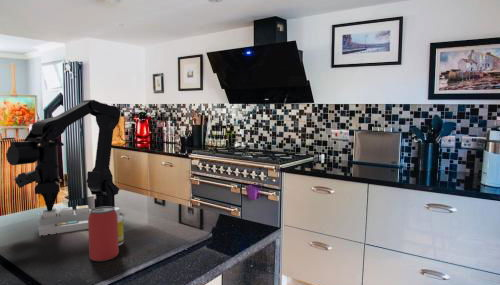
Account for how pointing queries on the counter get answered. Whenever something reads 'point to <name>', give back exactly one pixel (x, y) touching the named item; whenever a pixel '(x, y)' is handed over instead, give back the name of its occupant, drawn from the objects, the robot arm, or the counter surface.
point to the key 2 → (82, 209)
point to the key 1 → (49, 213)
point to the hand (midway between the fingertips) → (49, 210)
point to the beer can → (103, 233)
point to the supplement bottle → (119, 226)
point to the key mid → (66, 211)
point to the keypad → (63, 223)
